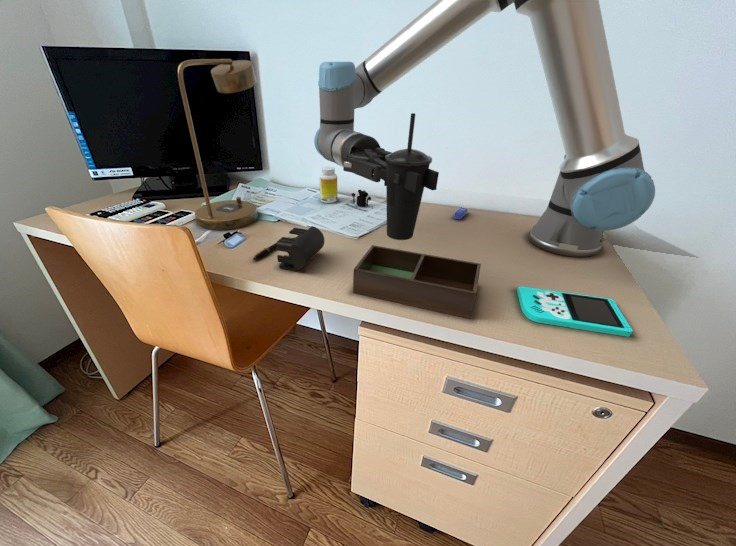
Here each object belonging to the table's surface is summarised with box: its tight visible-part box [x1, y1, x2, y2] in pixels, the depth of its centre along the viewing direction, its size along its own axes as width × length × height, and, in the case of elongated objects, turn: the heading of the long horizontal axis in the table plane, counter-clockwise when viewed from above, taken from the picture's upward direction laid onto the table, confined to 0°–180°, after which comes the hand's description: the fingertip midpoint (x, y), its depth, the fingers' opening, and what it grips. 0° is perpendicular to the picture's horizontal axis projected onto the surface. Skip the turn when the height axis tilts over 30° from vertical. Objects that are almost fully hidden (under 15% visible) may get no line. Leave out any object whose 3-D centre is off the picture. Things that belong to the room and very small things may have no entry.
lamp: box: [177, 58, 258, 231], centre depth 93 cm, size 17×27×38 cm, turn 157°
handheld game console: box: [516, 285, 633, 338], centre depth 61 cm, size 10×16×1 cm, turn 73°
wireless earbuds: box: [351, 189, 372, 208], centre depth 106 cm, size 7×2×5 cm, turn 54°
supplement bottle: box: [319, 166, 338, 204], centre depth 109 cm, size 6×6×10 cm
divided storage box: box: [352, 244, 482, 319], centre depth 66 cm, size 11×22×5 cm, turn 67°
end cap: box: [275, 225, 325, 272], centre depth 76 cm, size 10×7×7 cm
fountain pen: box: [252, 236, 291, 261], centre depth 83 cm, size 14×1×2 cm, turn 150°
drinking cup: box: [385, 112, 433, 241], centre depth 58 cm, size 8×8×20 cm
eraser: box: [453, 206, 469, 221], centre depth 99 cm, size 2×6×2 cm, turn 145°
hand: (426, 182), depth 54 cm, fingers closed on drinking cup, 3 cm apart
